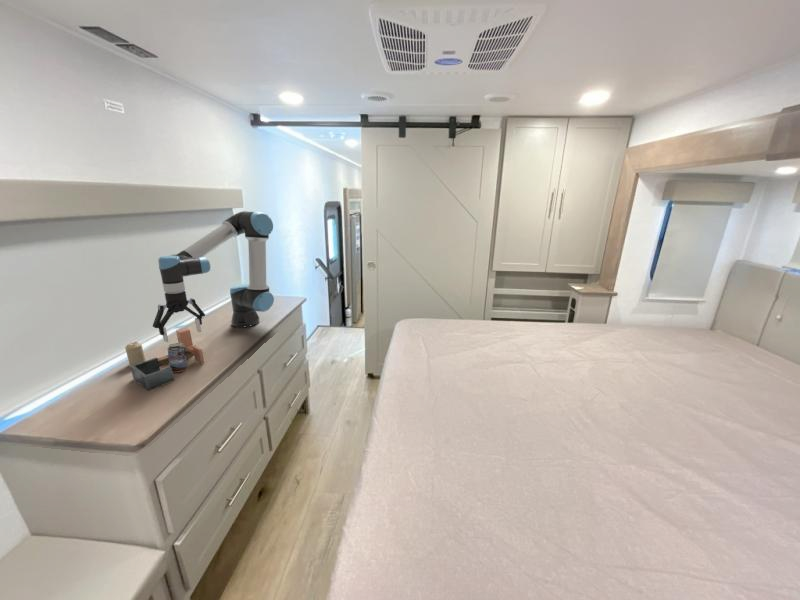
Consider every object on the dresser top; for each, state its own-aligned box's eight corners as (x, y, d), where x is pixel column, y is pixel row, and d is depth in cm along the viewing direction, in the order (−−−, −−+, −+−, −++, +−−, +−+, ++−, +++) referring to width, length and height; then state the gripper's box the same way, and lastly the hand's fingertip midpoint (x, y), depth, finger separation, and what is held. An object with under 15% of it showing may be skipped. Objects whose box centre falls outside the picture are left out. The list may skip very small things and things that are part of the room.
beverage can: (168, 375, 129) (162, 349, 126) (175, 366, 136) (169, 341, 132) (185, 373, 131) (179, 347, 127) (191, 364, 138) (186, 340, 134)
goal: (159, 369, 133) (156, 357, 131) (174, 380, 126) (171, 367, 124) (133, 379, 126) (129, 366, 124) (147, 390, 119) (144, 377, 117)
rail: (191, 353, 148) (190, 347, 147) (194, 355, 146) (193, 349, 145) (151, 367, 135) (149, 360, 134) (154, 369, 133) (152, 363, 133)
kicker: (190, 352, 148) (185, 327, 144) (207, 361, 140) (203, 336, 136) (181, 355, 145) (175, 330, 141) (198, 365, 136) (193, 339, 133)
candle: (144, 359, 142) (138, 339, 139) (147, 363, 138) (142, 342, 135) (128, 363, 137) (122, 343, 134) (131, 367, 134) (126, 346, 131)
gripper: (200, 284, 148) (207, 326, 154) (136, 296, 128) (147, 343, 134) (209, 287, 144) (215, 329, 150) (143, 299, 124) (154, 347, 130)
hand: (183, 336), depth 142 cm, fingers open, 13 cm apart
